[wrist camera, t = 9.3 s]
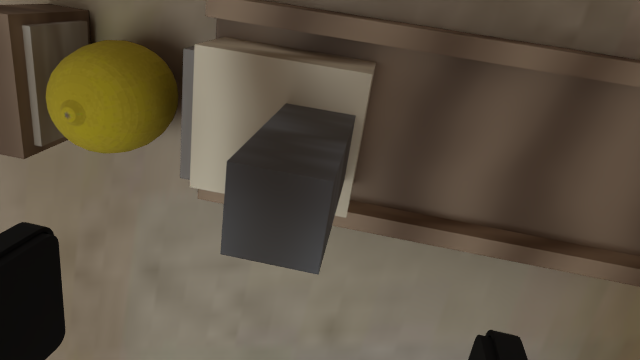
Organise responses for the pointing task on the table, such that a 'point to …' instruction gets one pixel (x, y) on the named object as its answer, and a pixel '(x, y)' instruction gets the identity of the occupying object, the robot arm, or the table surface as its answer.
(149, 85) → the lemon
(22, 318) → the robot arm
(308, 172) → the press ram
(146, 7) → the table surface
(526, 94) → the press bed
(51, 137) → the open brown box
